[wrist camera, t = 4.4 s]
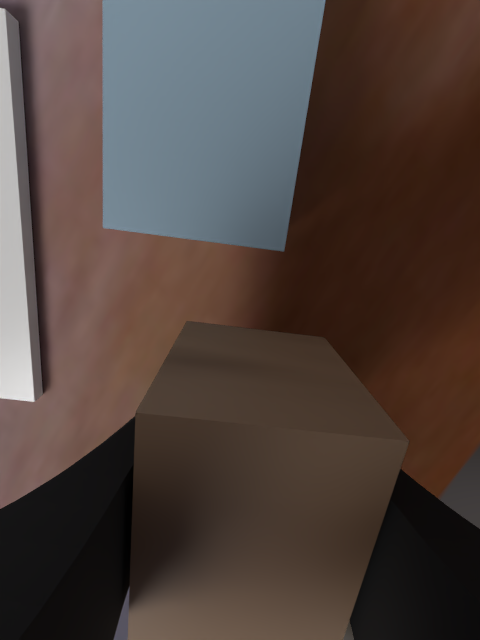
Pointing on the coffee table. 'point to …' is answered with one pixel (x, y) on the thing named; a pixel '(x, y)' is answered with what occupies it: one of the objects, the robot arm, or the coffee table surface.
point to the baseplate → (16, 232)
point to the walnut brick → (255, 489)
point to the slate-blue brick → (206, 116)
